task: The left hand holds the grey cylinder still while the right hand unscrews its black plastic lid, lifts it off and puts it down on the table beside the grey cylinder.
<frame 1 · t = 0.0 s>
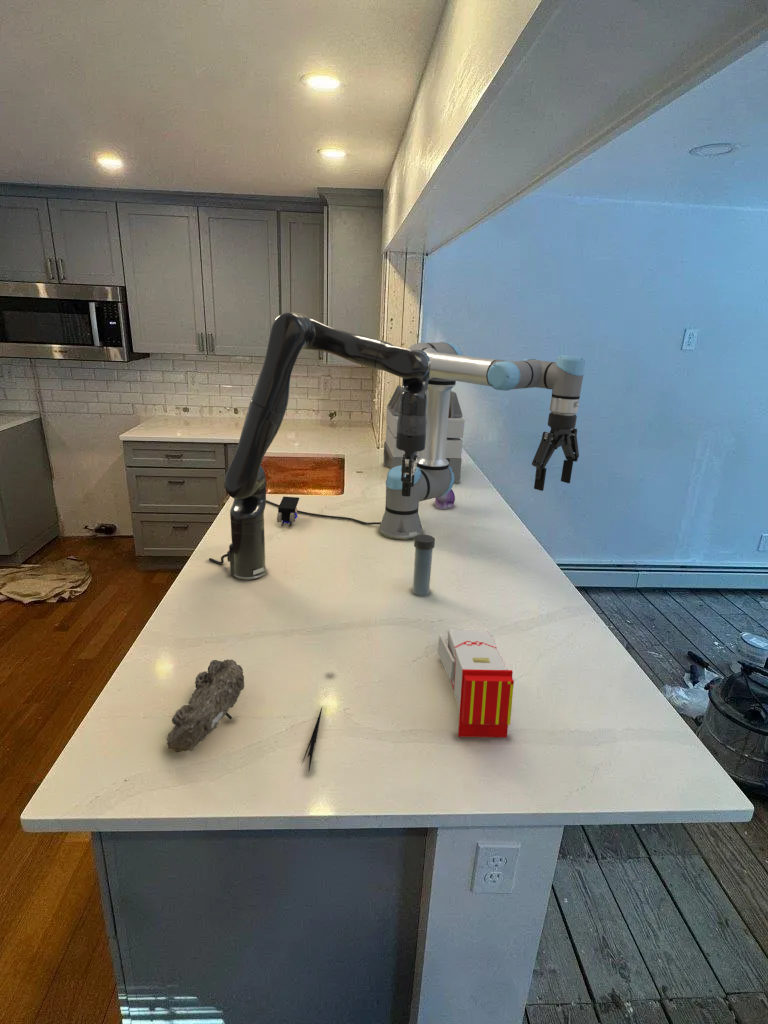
left hand: (407, 491, 151), 29 cm above the counter, tool pointing down, fingers open, 8 cm apart
right hand: (552, 485, 166), 28 cm above the counter, tool pointing down, fingers open, 13 cm apart
grey slatted wooden crate: (419, 473, 275), on the counter
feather: (319, 719, 109), on the counter
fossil: (212, 717, 108), on the counter
lid: (424, 539, 154), point 16 cm above the counter, screwed on, not yet turned
figurine character: (288, 521, 206), on the counter
grey cylinder: (420, 591, 160), on the counter
figurine: (444, 506, 230), on the counter
toy: (469, 691, 119), on the counter
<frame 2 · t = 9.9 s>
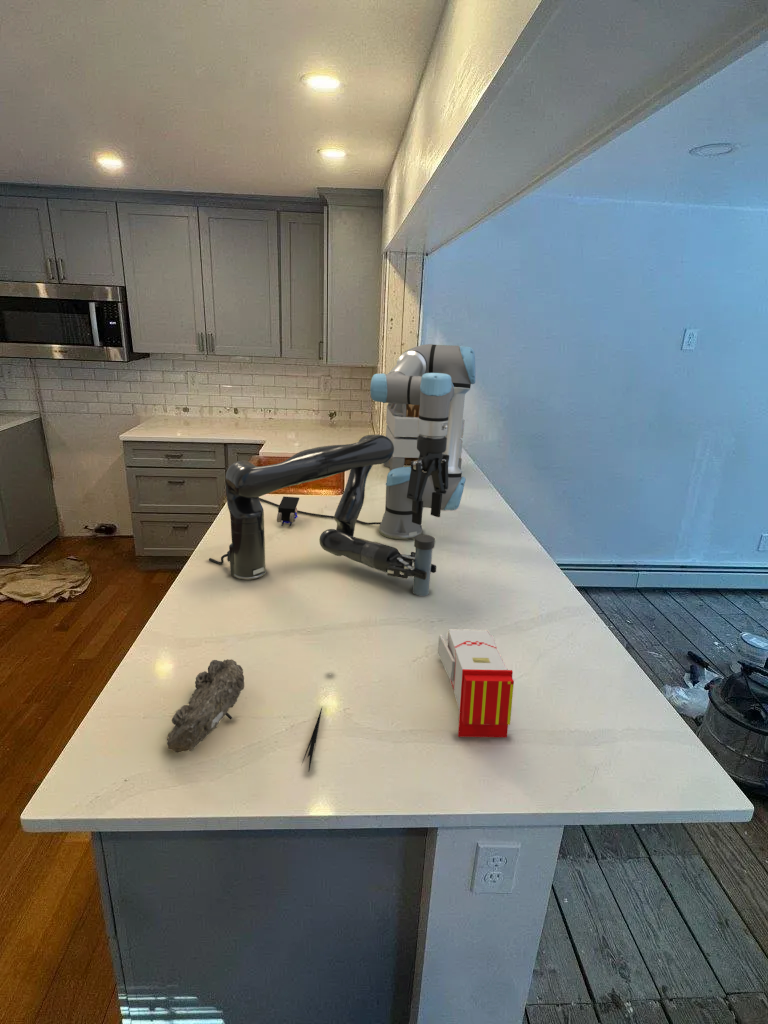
left hand: (430, 572, 156), 7 cm above the counter, tool horizontal, fingers closed on grey cylinder, 4 cm apart
right hand: (426, 519, 152), 22 cm above the counter, tool pointing down, fingers open, 8 cm apart
grey cylinder: (420, 591, 160), on the counter, touching left hand
everything else where it was.
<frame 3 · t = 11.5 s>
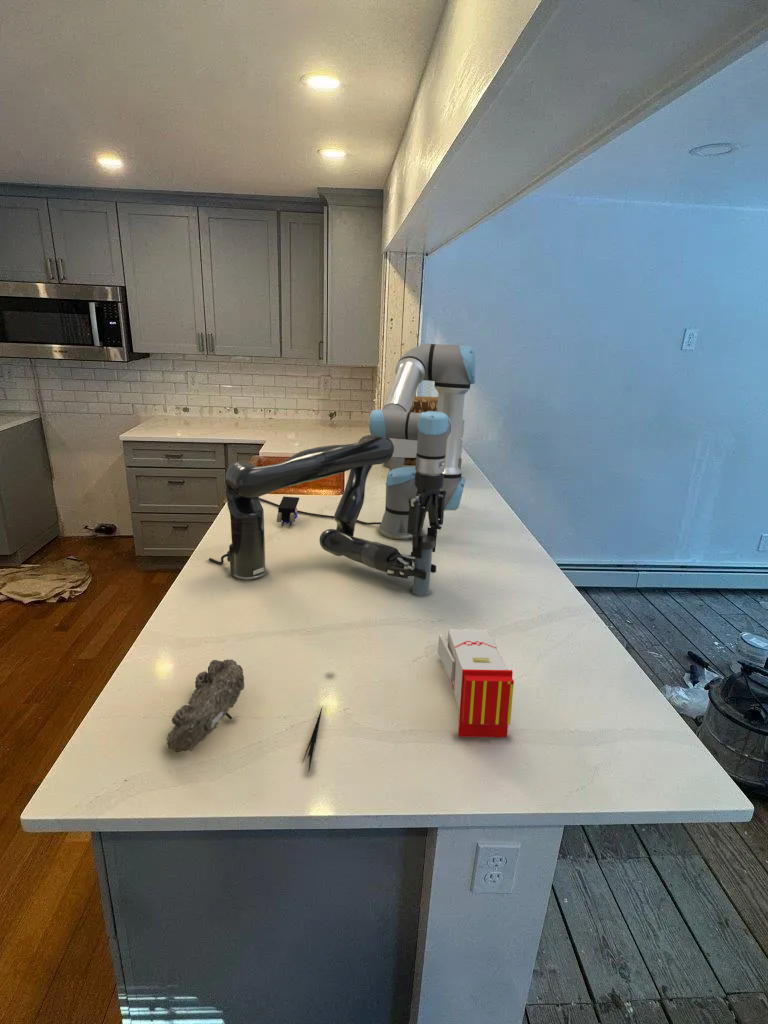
left hand: (430, 572, 156), 7 cm above the counter, tool horizontal, fingers closed on grey cylinder, 4 cm apart
right hand: (423, 553, 156), 12 cm above the counter, tool pointing down, fingers closed on lid, 5 cm apart
lid: (424, 539, 154), point 16 cm above the counter, screwed on, not yet turned, touching right hand
grey cylinder: (420, 591, 160), on the counter, touching left hand
everything else where it was.
when the right hand's fingers open (12 cm above the counter, at t = 13.0 s): lid stays where it is, point 16 cm above the counter.
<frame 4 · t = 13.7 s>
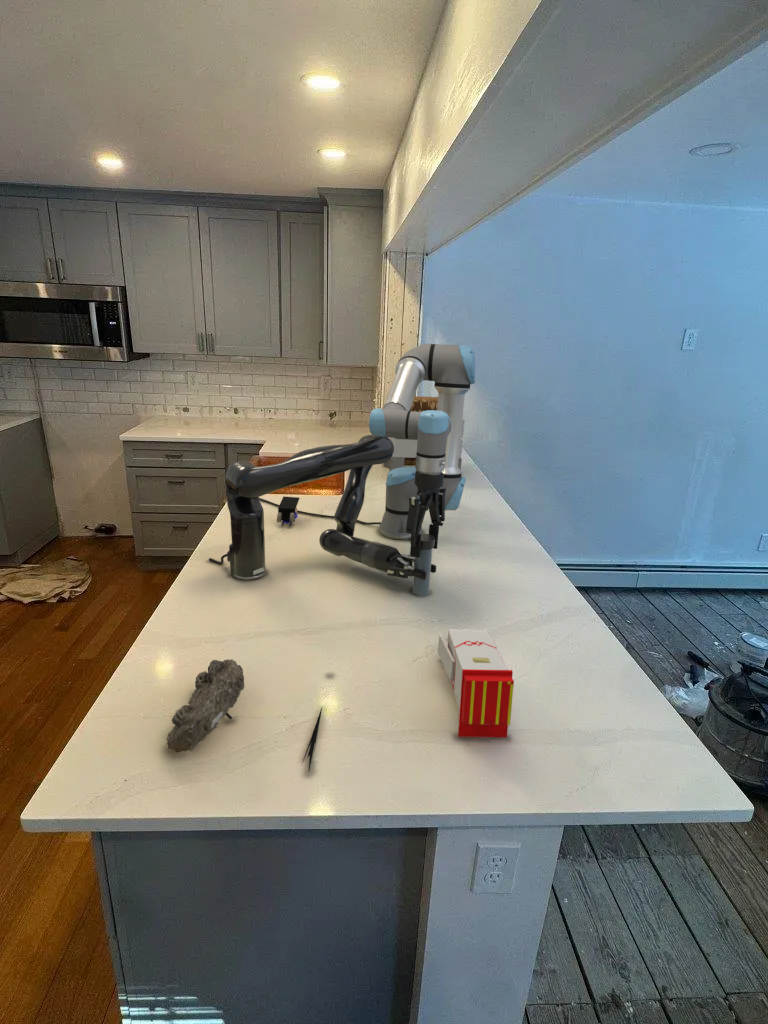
left hand: (430, 572, 156), 7 cm above the counter, tool horizontal, fingers closed on grey cylinder, 4 cm apart
right hand: (423, 551, 155), 12 cm above the counter, tool pointing down, fingers open, 8 cm apart
lid: (424, 538, 154), point 16 cm above the counter, turned 89° so far, risen 0.3 cm, still on its thread
grey cylinder: (420, 591, 160), on the counter, touching left hand
everything else where it was.
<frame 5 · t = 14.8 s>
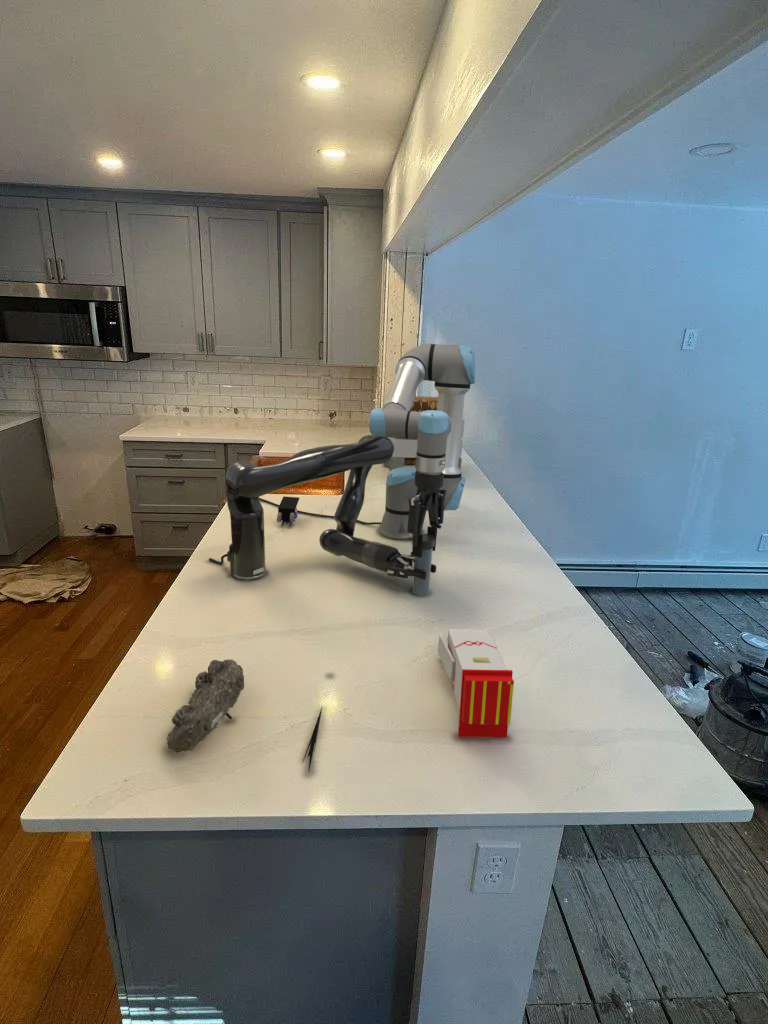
left hand: (430, 572, 156), 7 cm above the counter, tool horizontal, fingers closed on grey cylinder, 4 cm apart
right hand: (423, 552, 156), 12 cm above the counter, tool pointing down, fingers closed on lid, 5 cm apart
lid: (424, 538, 154), point 16 cm above the counter, turned 89° so far, risen 0.3 cm, still on its thread, touching right hand
grey cylinder: (420, 591, 160), on the counter, touching left hand
everything else where it was.
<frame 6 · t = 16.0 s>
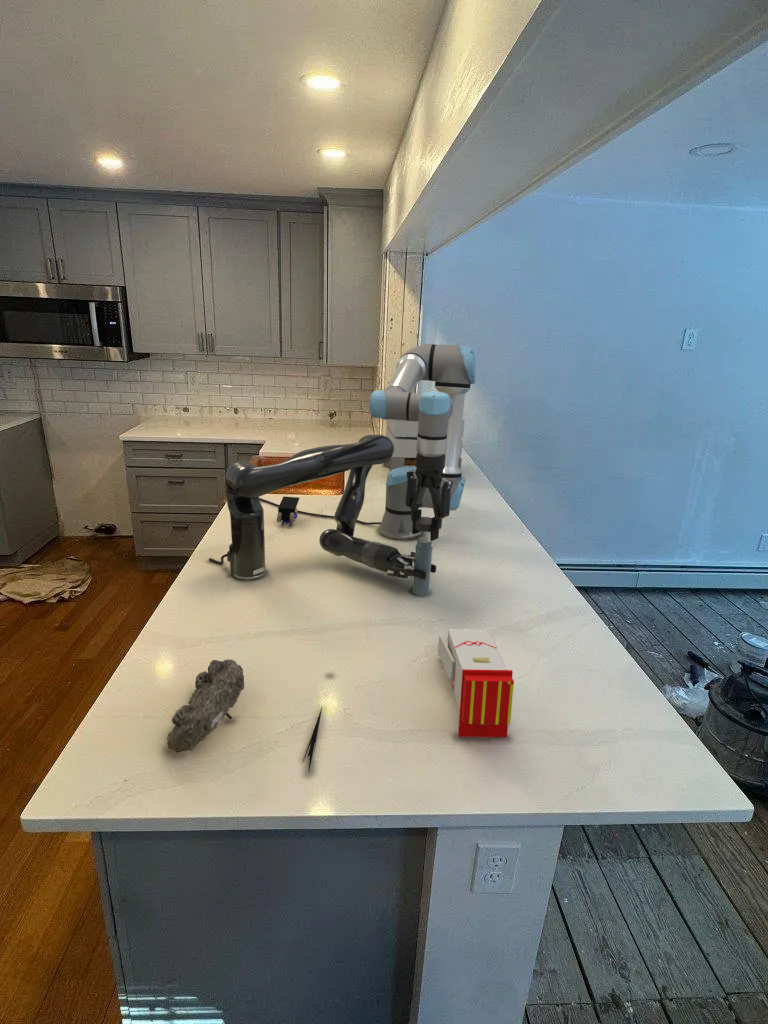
left hand: (430, 572, 156), 7 cm above the counter, tool horizontal, fingers closed on grey cylinder, 4 cm apart
right hand: (425, 535, 154), 17 cm above the counter, tool pointing down, fingers closed on lid, 5 cm apart
lid: (426, 521, 153), point 21 cm above the counter, off its thread, touching right hand
grey cylinder: (420, 591, 160), on the counter, touching left hand
everything else where it was.
when the right hand's fingers open (0 cm above the counter, at t = 21.4 s): lid drops 1 cm, point 2 cm above the counter.
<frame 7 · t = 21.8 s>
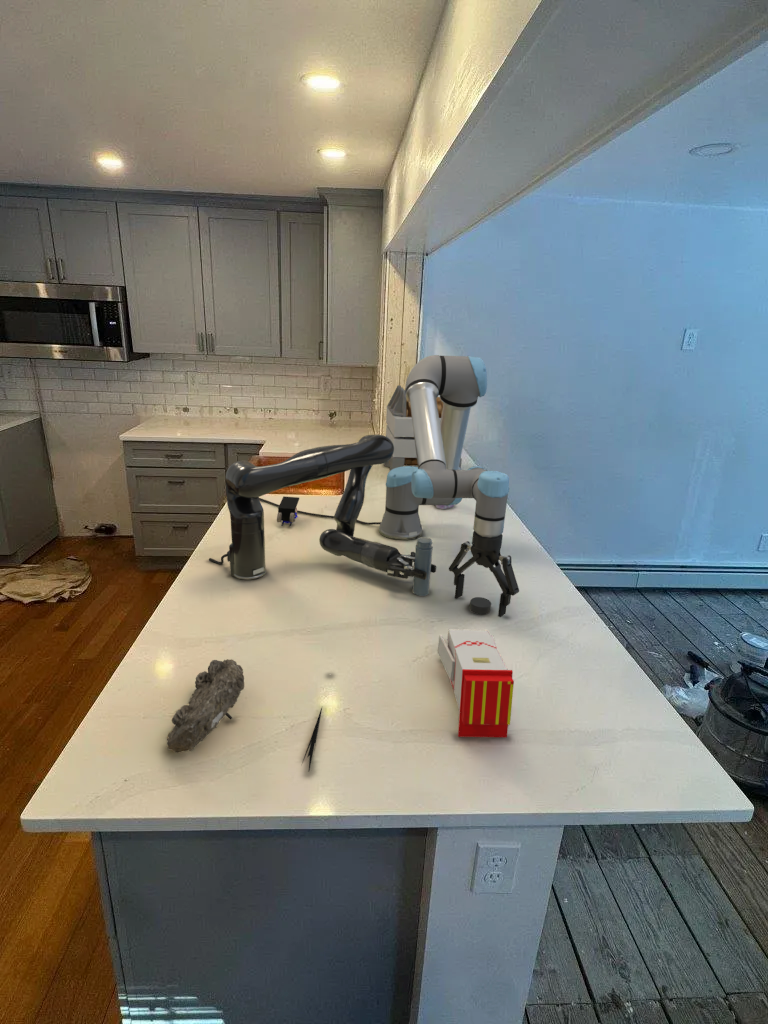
left hand: (430, 572, 156), 7 cm above the counter, tool horizontal, fingers closed on grey cylinder, 4 cm apart
right hand: (479, 605, 152), 1 cm above the counter, tool pointing down, fingers open, 13 cm apart
lid: (480, 603, 151), point 2 cm above the counter, off its thread
grey cylinder: (420, 591, 160), on the counter, touching left hand
everything else where it was.
when the left hand's fingers open (7 cm above the counter, at t = 22.4 s): grey cylinder stays where it is, on the counter.
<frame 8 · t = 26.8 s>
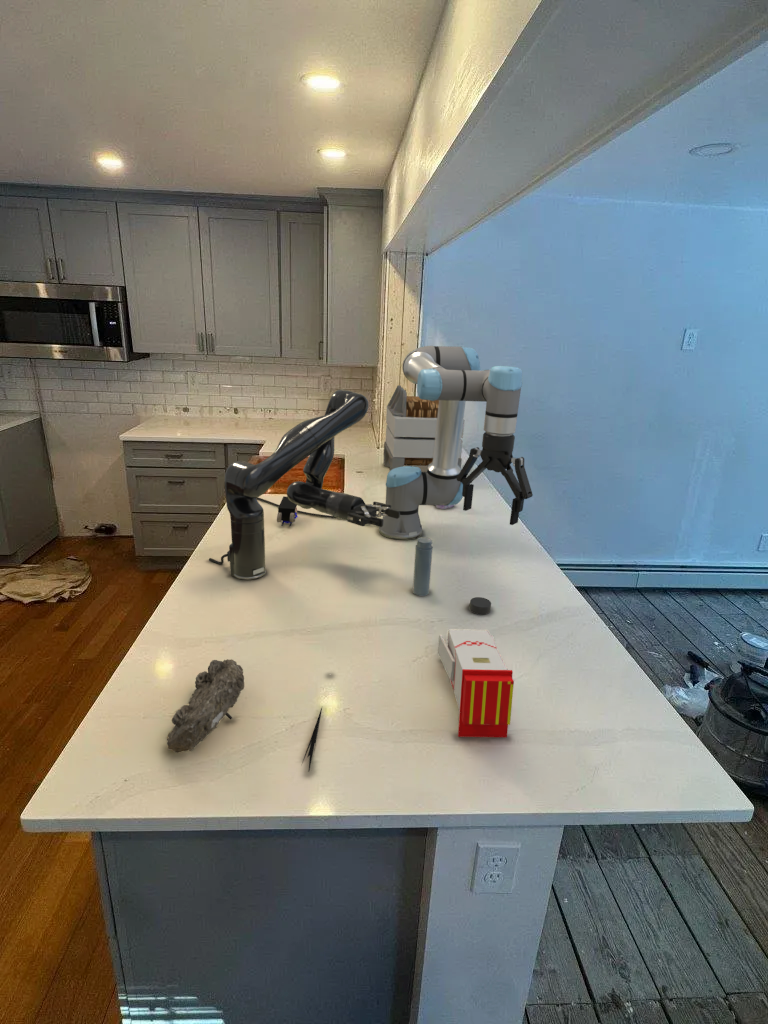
left hand: (391, 519, 159), 19 cm above the counter, tool horizontal, fingers open, 8 cm apart
right hand: (489, 516, 143), 26 cm above the counter, tool pointing down, fingers open, 13 cm apart
grey cylinder: (420, 591, 160), on the counter
everything else where it was.
at the end: lid came off its thread; lid point 1.9 cm above the counter; the left hand is holding nothing; the right hand is holding nothing; grey cylinder tilted 0°; grey cylinder moved 0.0 cm from its start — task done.
